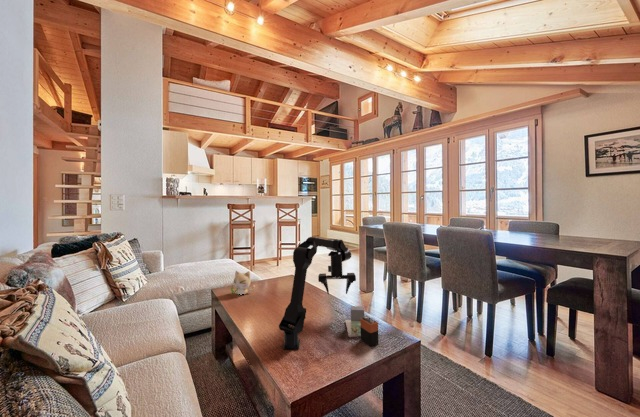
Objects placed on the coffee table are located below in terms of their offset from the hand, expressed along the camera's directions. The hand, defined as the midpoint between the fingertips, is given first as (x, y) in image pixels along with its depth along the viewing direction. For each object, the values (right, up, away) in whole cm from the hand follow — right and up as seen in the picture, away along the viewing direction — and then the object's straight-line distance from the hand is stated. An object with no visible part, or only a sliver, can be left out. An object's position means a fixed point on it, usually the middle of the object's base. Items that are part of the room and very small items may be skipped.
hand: (337, 293), depth 136 cm
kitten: (-59, -12, +36) cm, 71 cm away
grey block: (+8, -8, -14) cm, 18 cm away
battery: (+12, -12, -26) cm, 30 cm away
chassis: (+9, -11, -14) cm, 20 cm away
